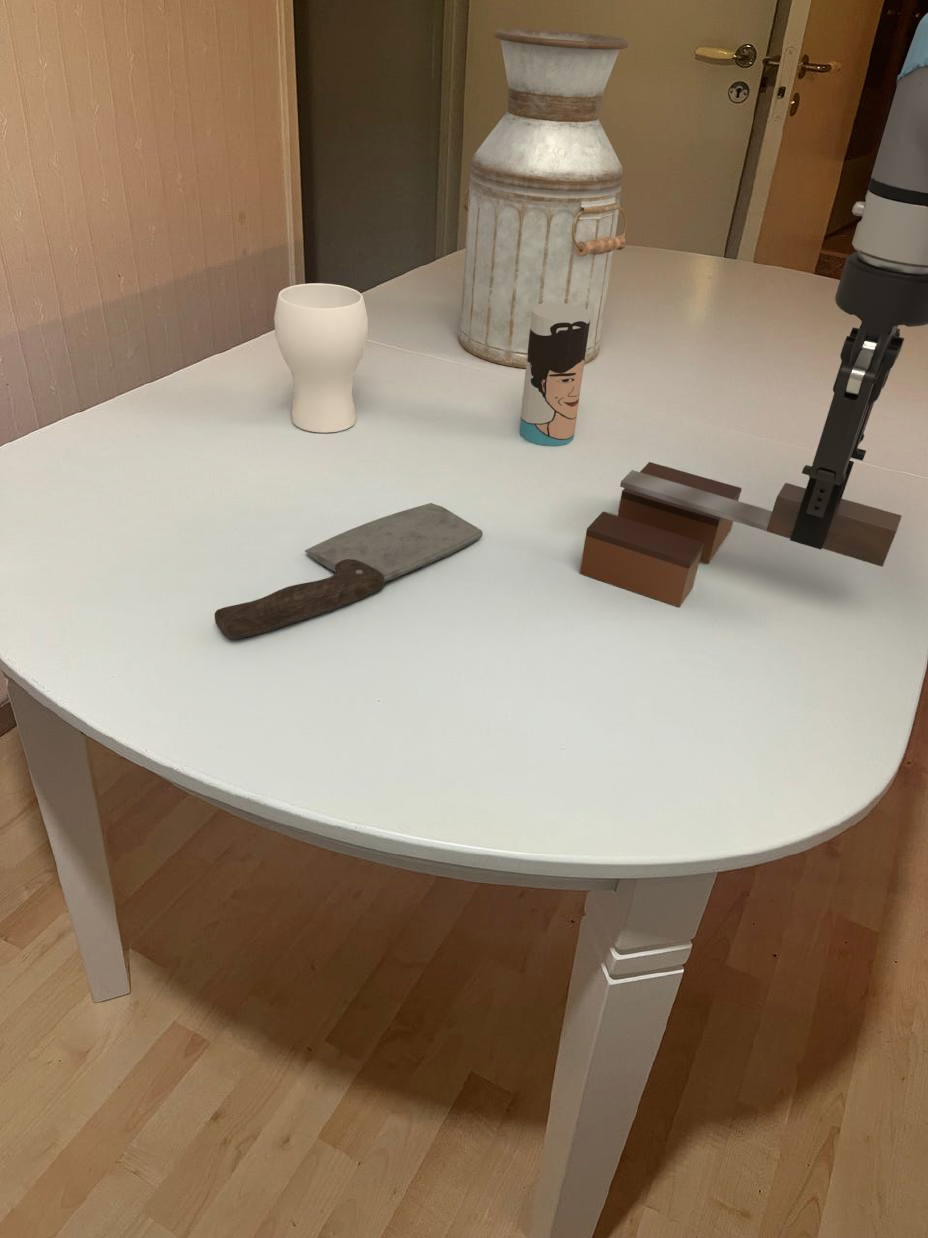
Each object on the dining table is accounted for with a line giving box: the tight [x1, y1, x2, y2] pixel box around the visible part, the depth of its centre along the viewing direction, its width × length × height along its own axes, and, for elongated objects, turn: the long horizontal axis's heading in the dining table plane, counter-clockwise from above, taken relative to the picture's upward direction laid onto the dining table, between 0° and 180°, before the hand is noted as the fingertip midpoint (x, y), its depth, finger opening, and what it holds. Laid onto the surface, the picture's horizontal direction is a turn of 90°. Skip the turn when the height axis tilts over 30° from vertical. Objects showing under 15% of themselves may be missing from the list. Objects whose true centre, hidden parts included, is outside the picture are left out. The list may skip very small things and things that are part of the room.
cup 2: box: [518, 303, 591, 447], centre depth 109 cm, size 7×7×15 cm
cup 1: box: [273, 282, 369, 434], centre depth 108 cm, size 11×11×15 cm
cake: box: [617, 461, 742, 565], centre depth 94 cm, size 10×8×5 cm
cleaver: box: [214, 502, 484, 640], centre depth 85 cm, size 30×10×2 cm, turn 137°
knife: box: [619, 469, 903, 567], centre depth 83 cm, size 24×3×4 cm, turn 61°
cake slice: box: [579, 511, 704, 608], centre depth 86 cm, size 10×4×5 cm, turn 61°
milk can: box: [457, 28, 629, 369], centre depth 128 cm, size 24×21×40 cm
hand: (811, 533), depth 82 cm, fingers closed on knife, 3 cm apart
